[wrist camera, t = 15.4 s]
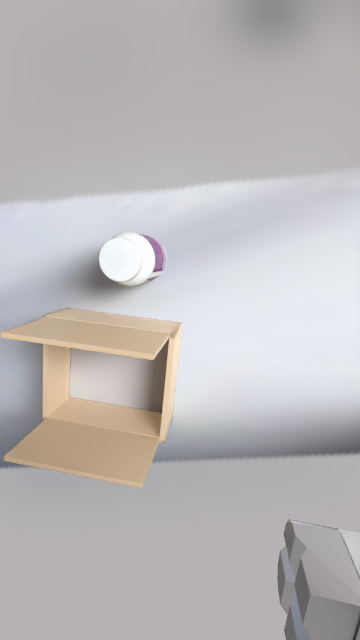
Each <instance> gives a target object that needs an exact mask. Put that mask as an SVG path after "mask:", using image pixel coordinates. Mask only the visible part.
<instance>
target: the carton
mask: <svg viewBox="0 0 360 640" xmlns="http://www.w3.org/2000/svg"><path fill="white" fill-rule="evenodd" d="M181 331H182V323H180V322H172V321H165V320H157V319H149V318H142V317H134V316H126V315H119V314H111V313H104V312H96V311H88V310H81V309H73V308H65V309H62V310H59V311H56V312H52V313H49V314H46V315H43V318H42V319H39V320H36V321H33V322H30V323H27V324H24V325H21V326H18V327H15V328H12V329H9V330H6V331H3V332H1V338H7V339H14V340H21V341H27V342H34V343H41V344H43V417H42V421H43V422H42V423H41V424H39V425H38V426H37V427H36V428H35V429H34V430H33V431H32V432H31V433H29V434H28V435H27V436H26V437H25V438H24V439H23V440H22V441H20V442H19V443H18V444H17V445H16V446H15V447H14V448H13V449H12V450H10V451H9V452H8V453H7V454H6V455H5V456H4V461H8V462H13V463H18V464H23V465H28V466H33V467H37V468H42V469H47V470H52V471H58V472H62V473H67V474H72V475H77V476H82V477H87V478H92V479H98V480H102V481H107V482H112V483H117V484H122V485H127V486H132V487H137V488H143V485H144V482H145V480H146V477H147V474H148V471H149V469H150V466H151V463H152V460H153V458H154V455H155V452H156V449H157V447H158V444H159V442H162V443H164V442H165V439H166V436H167V433H168V430H169V427H170V424H171V421H172V417H173V408H174V398H175V389H176V379H177V370H178V360H179V351H180V341H181ZM168 339H169V346H168V357H167V367H166V377H165V388H164V398H163V408H162V413H159V412H153V411H147V410H141V409H136V408H130V407H124V406H118V405H112V404H106V403H100V402H94V401H88V400H82V399H76V398H70V397H69V395H70V357H71V348H75V349H82V350H88V351H95V352H102V353H109V354H115V355H122V356H129V357H136V358H142V359H149V360H154V359H155V357H156V356H157V354H158V353H159V352H160V350H161V349H162V347H163V346H164V344H165V343H166V342H167V340H168Z"/></svg>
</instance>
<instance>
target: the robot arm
mask: <svg viewBox="0 0 360 640" xmlns="http://www.w3.org/2000/svg"><path fill="white" fill-rule="evenodd" d="M284 537H285V542H286V547H284V548H283V549H282V550H281V551H280V556H279V562H278V591H279V598H280V604H281V606H282V607H283V609H284V610H285V612H286V613H287V615H288V616H287V620H286V625H285V629H284V630H285V637H286V640H360V533H359V532H354V531H348V530H343V529H337V528H336V529H334V528H330V527H325V526H319V525H314V524H309V523H304V522H299V521H293V520H288V521H287V523H286V526H285V531H284Z"/></svg>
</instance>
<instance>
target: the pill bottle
mask: <svg viewBox="0 0 360 640" xmlns="http://www.w3.org/2000/svg"><path fill="white" fill-rule="evenodd" d="M166 263H167V255H166V251H165V249H164V247H163V245H162V244H161V243H160V242H159V241H158V240H156V239H155V238H153V237H150V236H146V235H141V234H137V233H133V232H126V233H121V234H118V235H116V236H115V237H113V238H112V239H111V240H109V241H108V242H106V243H105V244H104V245H103V247H102V248H101V250H100V254H99V264H100V267H101V270H102V271H103V273H104V274H105V275H106V276H107V277H108V278H110V279H111V280H114V281H115V282H117V283H119V284H121V285H125V286H136V285H139V284H142V283H145V282H148V281H151V280H153V279H155V278H157V277H158V276H160V275H161V274H162V272H163V271H164V269H165V267H166Z"/></svg>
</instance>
